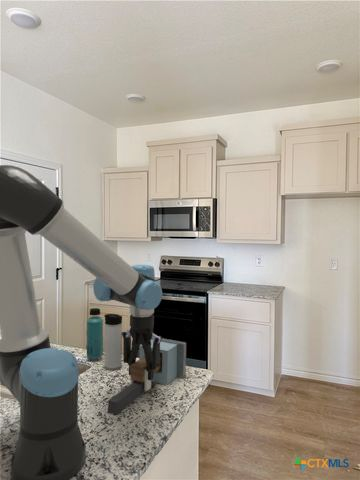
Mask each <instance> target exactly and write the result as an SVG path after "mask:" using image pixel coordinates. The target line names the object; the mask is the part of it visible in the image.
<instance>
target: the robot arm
mask: <svg viewBox="0 0 360 480" xmlns="http://www.w3.org/2000/svg"><path fill="white" fill-rule="evenodd" d="M27 232H28V233H29V234H30V235H32V236H36V235H40V236H41V237H43V238H44V239H45V240H47V241H48V242H49V243H50V244H51V245H53V246H54V247H56V248H57V249H58V250H59V251H61V252H63V253H64V254H65V256H68V257H69V259H72V260H73V261H74V262H76V264H78V265H79V266H81V267H82V268H83V269H85V270H86V271H87V272H89V273H90V274H91V275H92V276H94V277H95V279H94V280H93V285H92V286H93V294H94V298H96V300H98V301H99V302H110V301H114V302H115V301H116V302H118V303H121V304H122V303H123V304H126V305H128V306H129V313H130V315H129V326H130V328H129V330H125V331H122V340H123V344H122V348H123V349H122V350H123V351H122V354H123V355H122V357H123V358H122V359H123V360H122V361H123V363H124V364H127V366H128V376H130V365H132V364H133V363H135V362H136V361H137V357H138V354H139V345H142V348H143V349H144V354H145V360H146V365H147V369H146V370H145V388H144V391H145V392H148V391H149V390H151V389H152V381H151V380H152V379H153V372H154V370H155V369H156V368H157V367H159V362H160V342H161V340H162V338H163V337H162V336H161V335H159V336H158V335H157V334H155V332H154V325H155V320H154V319H155V315H154V313H155V309H156V308H157V307H158V306H159V305H160V304H161V301H162V297H163V290H162V287H161V285H160V284H159V283H158V282H156V278H155V274H156V273H155V267H154V266H153V265H151V264H134V265H130V264H129V263H128V262H127V261H125V260H124V259H123V258H122V257H121V256H119V254H117V253H116V252H115V251H114V250H113V249H112V248H111V247H109V245H107V244H106V243H104V241H103V240H101V239H100V238H99V237H98V236H97V235H95V234H94V233H93V232H92V231H91V230H90V229H89V228H88V227H86V226H85V225H84V224H83V223H82V222H81V221H79V220H78V219H77V218H76V217H75V216H73V214H71V213H70V212H69V211H68V210H66V209H65V203H64V200H62V198H60V197H59V196H58V194H56V193H55V192H53V191H52V190H51V189H50V188H49V187H47V185H45V183H43V182H42V181H41V180H39V179H38V178H37V177H36V176H34V175H33V174H32V173H30V172H29V171H27V170H25V169H23V168H22V167H19V166H15V165H11V164H10V165H9V164H1V165H0V334H1V339H0V383H1V384H2V385H3V386H4V387H5V388H6V389H7V390H8V391H9V392H10V393H11V395H12V396H13V397H14V399H16V401H17V402H18V403H19V436H18V440H17V442H16V447H15V451H14V453H12V454H13V455H12V457H11V461H10V477H11V480H70V479H71V478H73V477H75V475H77V474H78V473H79V472H80V471H81V469H82V468H83V466H84V465H85V462H86V457H87V456H86V452H87V451H86V450H87V449H86V444H85V443H86V442H85V440H84V438H83V435H82V431H81V429H80V425H79V421H78V420H79V419H78V418H79V416H78V412H79V411H78V410H79V409H78V408H79V379H80V371H79V363H78V360H77V357H76V356H75V355H74V354H73V353H72V352H71V351H68V350H66V349H63V348H61V349H59V348H57V347H56V348H55V347H51V343H50V336H49V335H50V334H49V332H48V331H47V330H45V329H43V328H41V322H40V317H39V310H38V304H37V296H36V294H35V293H36V292H35V287H34V285H35V284H34V281H33V273H32V269H31V262H30V258H29V256H30V255H29V251H28V244H27V238H26V237H27V236H26V233H27ZM152 338H153V341H152V342H153V354H152V350H151V339H152ZM133 382H134V380H131V379H130V384H132V383H133Z"/></svg>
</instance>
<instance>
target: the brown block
mask: <svg viewBox="0 0 360 480" xmlns="http://www.w3.org/2000/svg"><path fill="white" fill-rule="evenodd" d="M152 354H153V351H152ZM161 368H162V353H160V362H159V367H157V368H156V369H155V370H154V372H153V374H154V373H156V372H157V371H158V370H160V369H161ZM146 369H147V365H146V360H145V356H144V357H143V358H141V359H139V358H138V359H137V360H136V362H135V363H133V364H132V365H130V375H129V376H130V377H129V379H130V381H131V380H134V381H138V382H142V383H143V382H144V381H145V370H146Z"/></svg>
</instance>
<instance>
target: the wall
mask: <svg viewBox="0 0 360 480" xmlns="http://www.w3.org/2000/svg"><path fill="white" fill-rule="evenodd" d="M151 340H153V338H152V339H151ZM161 342H166V343H172V344H177V377H176V378H179V379H185V377H186V371H187V370H186V369H187V342H185V341H179V340H173V339H167V338H164V337H162V340H161Z"/></svg>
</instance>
